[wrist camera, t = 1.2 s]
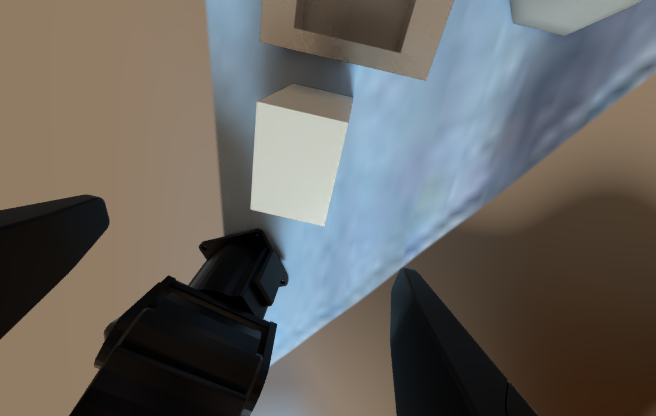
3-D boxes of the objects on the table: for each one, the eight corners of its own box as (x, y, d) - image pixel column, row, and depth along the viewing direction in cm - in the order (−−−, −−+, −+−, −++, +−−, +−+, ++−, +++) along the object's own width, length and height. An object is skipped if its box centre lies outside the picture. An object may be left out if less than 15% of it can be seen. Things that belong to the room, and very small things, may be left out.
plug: (335, 174, 20) (324, 226, 14) (283, 162, 20) (250, 209, 14) (353, 97, 18) (348, 123, 12) (293, 83, 18) (256, 101, 12)
